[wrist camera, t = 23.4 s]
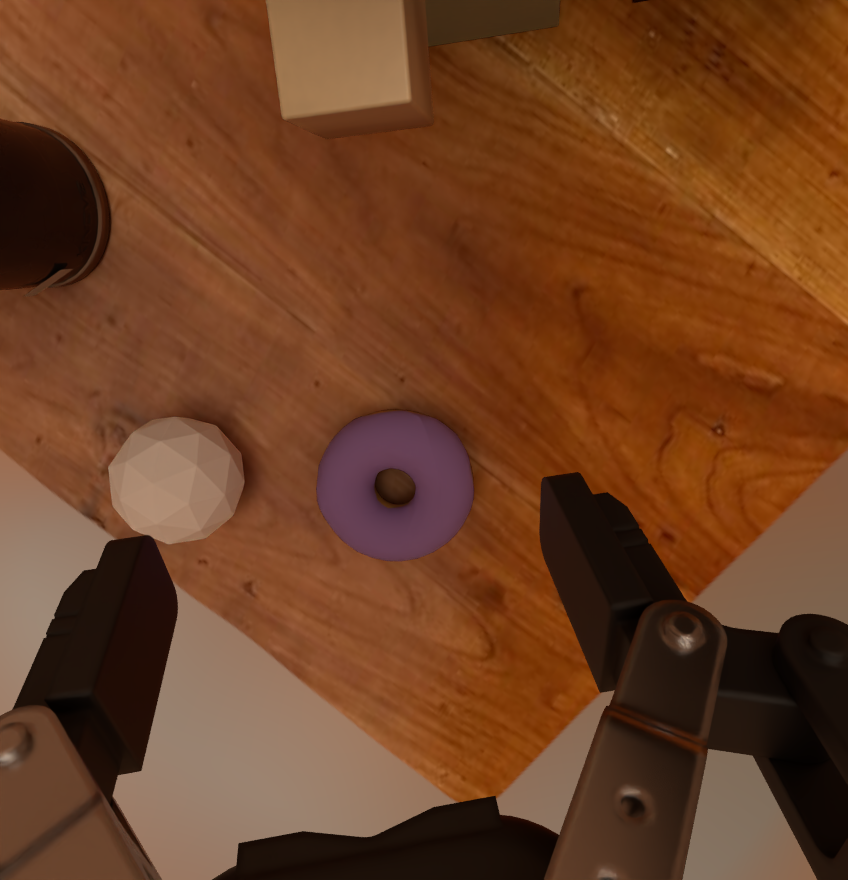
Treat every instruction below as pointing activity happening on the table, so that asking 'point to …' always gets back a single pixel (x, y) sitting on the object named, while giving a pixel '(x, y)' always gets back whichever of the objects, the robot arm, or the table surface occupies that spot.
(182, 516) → the geometric ball
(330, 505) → the donut
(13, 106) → the table surface
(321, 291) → the table surface
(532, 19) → the tall lidded box
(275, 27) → the birch bar
